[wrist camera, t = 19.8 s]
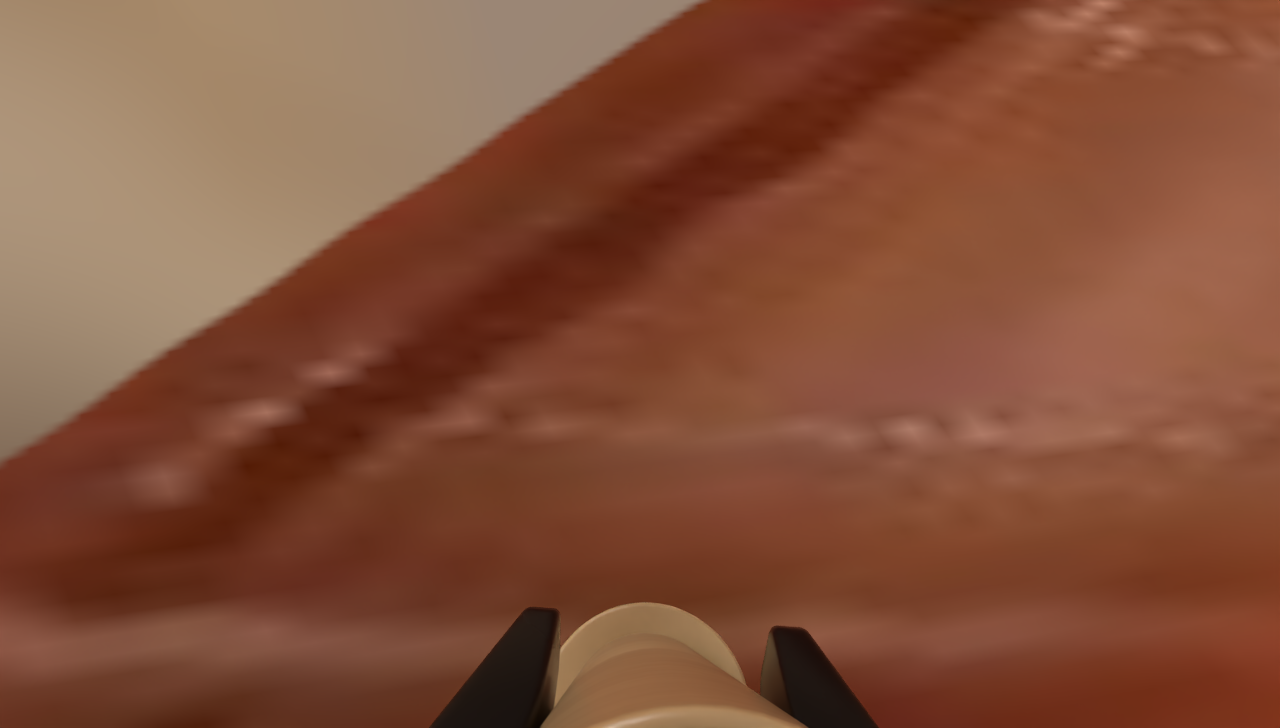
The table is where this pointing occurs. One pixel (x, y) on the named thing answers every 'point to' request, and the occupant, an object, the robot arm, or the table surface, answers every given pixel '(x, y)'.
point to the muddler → (655, 675)
